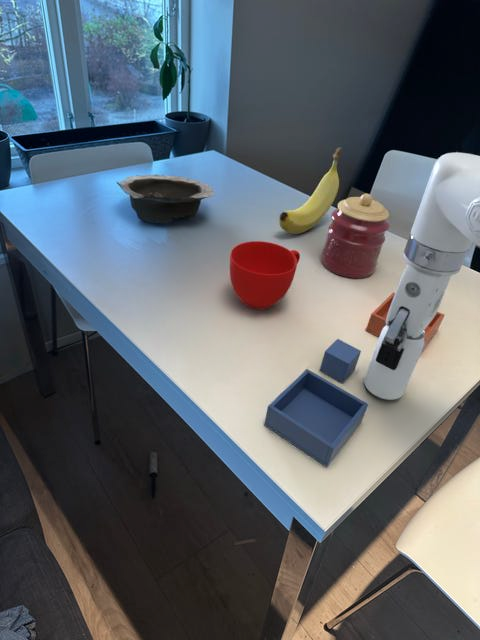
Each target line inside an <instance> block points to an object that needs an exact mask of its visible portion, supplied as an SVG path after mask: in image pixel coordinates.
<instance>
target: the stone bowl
mask: <svg viewBox="0 0 480 640" xmlns="http://www.w3.org/2000/svg"><path fill="white" fill-rule="evenodd" d="M116 184H117V185H118V186H119V188H120V189H121V190H122V191H123V192H124V193H125V194H126V195H128V196H129V199H130V206H131V208H132V209H133V210H134V212H135V213H136V217H137V218H138V219H139V220H141V221H144V222H147V223H151V224H157V223H160V224H169V223H171V222H172V221H173V220H174V218H175V219H185V220H192V219H194V218H195V217H196V215H197V214H198V211H199V208H200V205H201V201H202V200H204V199H207V198H211V197H213V196H214V195H215V193H214V191H213V188H212V187H211V186H210V185H209V184H207V183H206V182H202V181H200V180H196V179H191V178H187V177H182V176H176V175H164V174H143V175H142V174H139V175H132V176H128V177H126V178H125V179H123V180H121V181H116Z"/></svg>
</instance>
